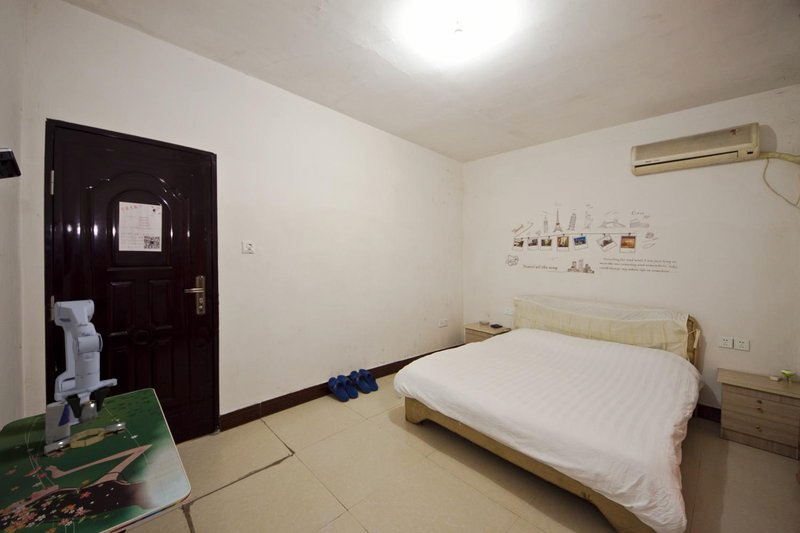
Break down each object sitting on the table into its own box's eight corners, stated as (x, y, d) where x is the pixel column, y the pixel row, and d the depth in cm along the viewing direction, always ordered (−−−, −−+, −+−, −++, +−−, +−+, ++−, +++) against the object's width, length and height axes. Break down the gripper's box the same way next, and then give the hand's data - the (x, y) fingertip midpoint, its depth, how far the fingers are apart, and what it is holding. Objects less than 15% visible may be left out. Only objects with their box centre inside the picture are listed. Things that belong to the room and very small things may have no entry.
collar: (62, 443, 100) (62, 438, 100) (99, 430, 108) (99, 425, 108) (73, 450, 96) (73, 445, 96) (110, 436, 104) (110, 432, 104)
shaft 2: (105, 437, 104) (105, 429, 104) (105, 433, 106) (105, 425, 106) (125, 431, 107) (125, 423, 107) (124, 427, 110) (124, 420, 110)
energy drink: (74, 436, 104) (74, 400, 104) (55, 445, 99) (55, 407, 99) (60, 435, 105) (60, 399, 105) (40, 444, 99) (40, 407, 99)
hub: (75, 420, 101) (75, 403, 101) (93, 414, 105) (93, 398, 105) (81, 423, 99) (81, 406, 99) (99, 417, 103) (99, 401, 103)
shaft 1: (66, 445, 99) (66, 436, 99) (70, 448, 97) (70, 439, 97) (43, 453, 94) (43, 444, 94) (47, 456, 93) (47, 447, 93)
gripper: (60, 382, 94) (60, 427, 94) (121, 368, 107) (121, 407, 107) (51, 378, 97) (51, 421, 97) (111, 365, 110) (111, 403, 110)
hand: (87, 414), depth 102 cm, fingers closed on hub, 4 cm apart
